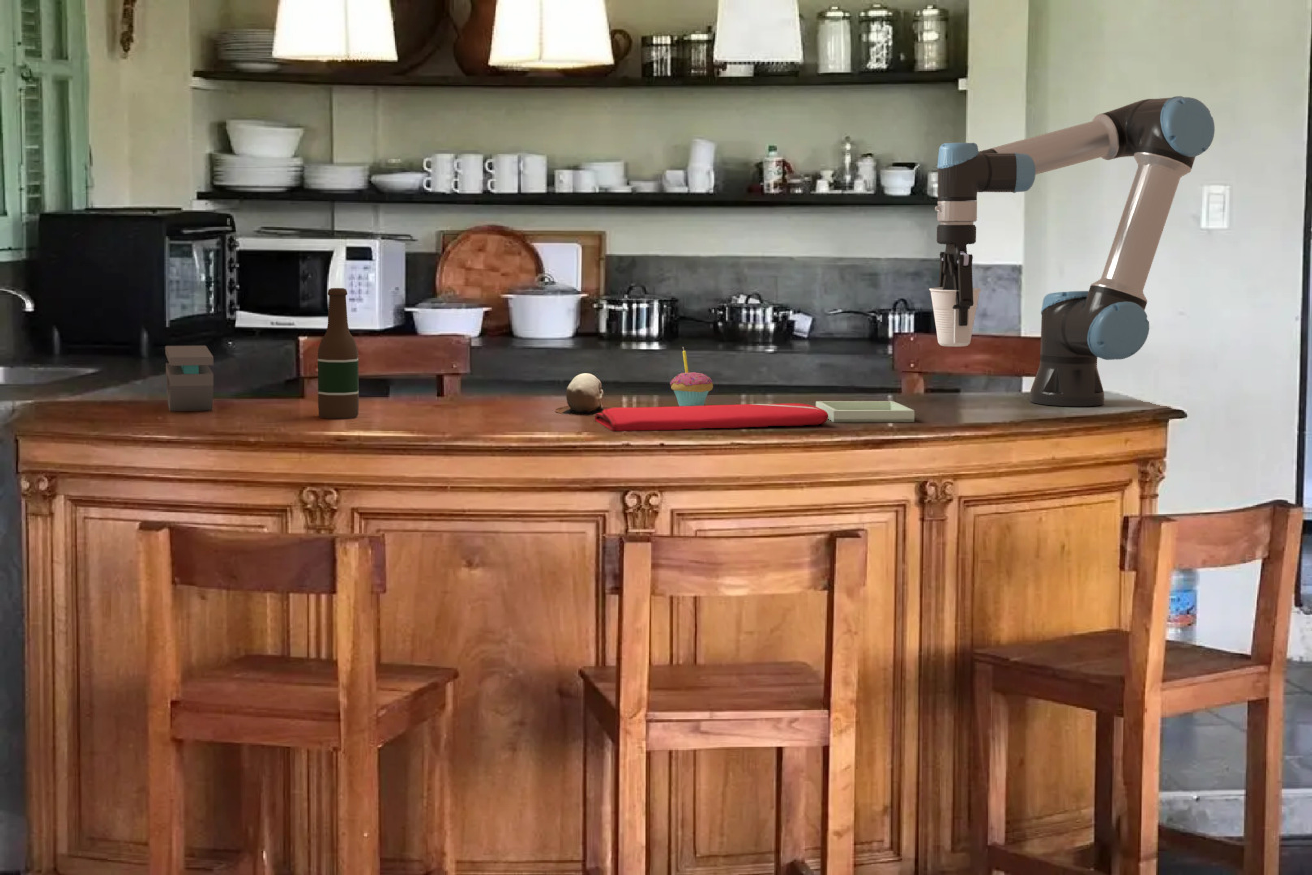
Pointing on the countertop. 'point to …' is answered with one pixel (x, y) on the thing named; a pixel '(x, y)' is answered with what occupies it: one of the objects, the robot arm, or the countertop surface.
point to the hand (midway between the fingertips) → (954, 340)
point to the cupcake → (691, 386)
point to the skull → (584, 396)
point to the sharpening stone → (189, 378)
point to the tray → (866, 411)
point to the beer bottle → (338, 363)
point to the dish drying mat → (710, 416)
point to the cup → (950, 314)
